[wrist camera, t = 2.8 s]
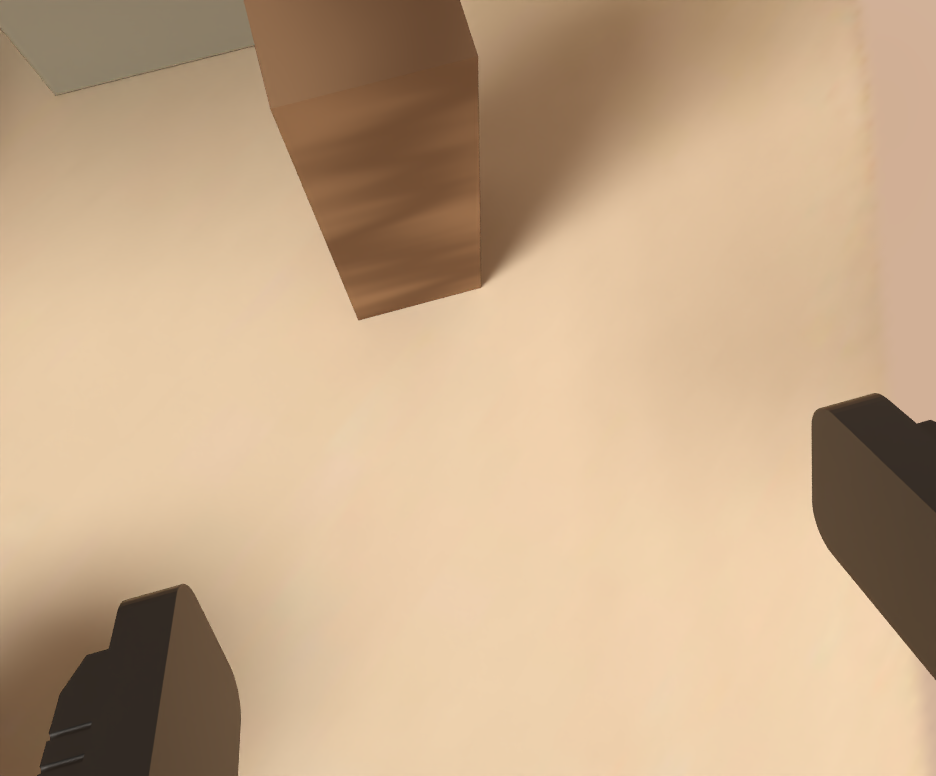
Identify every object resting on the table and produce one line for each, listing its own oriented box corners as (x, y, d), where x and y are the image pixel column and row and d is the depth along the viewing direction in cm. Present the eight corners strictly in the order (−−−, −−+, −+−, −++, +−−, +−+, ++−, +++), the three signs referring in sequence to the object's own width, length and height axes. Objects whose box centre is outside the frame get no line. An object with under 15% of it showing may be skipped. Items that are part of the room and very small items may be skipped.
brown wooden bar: (358, 320, 28) (270, 109, 17) (329, 208, 29) (227, -65, 18) (480, 287, 28) (478, 56, 17) (447, 177, 29) (423, -113, 18)
